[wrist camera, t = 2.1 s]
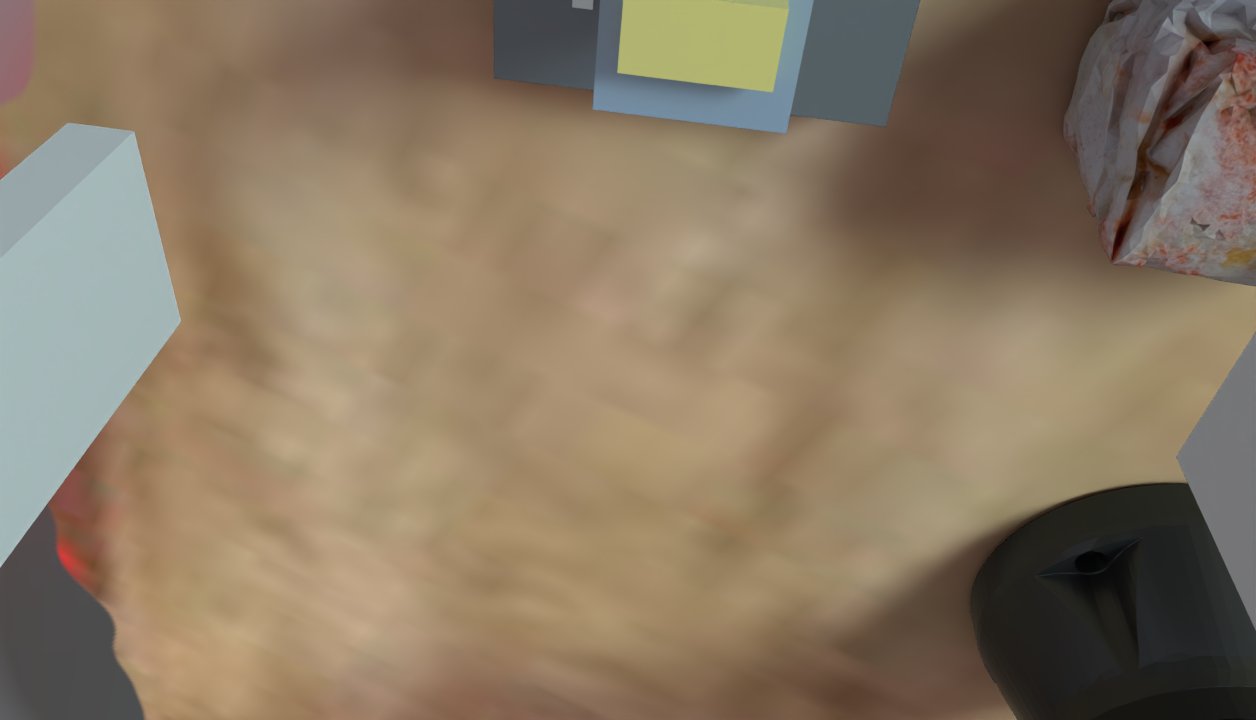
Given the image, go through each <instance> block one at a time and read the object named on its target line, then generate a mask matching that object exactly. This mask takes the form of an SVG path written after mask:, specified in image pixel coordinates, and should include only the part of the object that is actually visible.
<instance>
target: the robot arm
mask: <svg viewBox="0 0 1256 720" xmlns="http://www.w3.org/2000/svg"><path fill="white" fill-rule="evenodd" d="M180 322H181V319H180V315H179V311H178V307H177V303H176V299H175V295H174V291H173V287H172V283H171V279H170V275H169V271H168V267H167V263H166V259H165V255H164V251H163V246H162V242H161V238H160V234H159V230H158V226H157V222H156V218H155V214H154V210H153V206H152V202H151V198H150V194H149V190H148V186H147V182H146V178H145V174H144V170H143V166H142V162H141V158H140V154H139V150H138V146H137V142H136V138H135V133H134V131H127V130H120V129H112V128H105V127H97V126H90V125H82V124H75V123H67V124H66V125H65V126H64V127H62V128H61V129H60V130H59V131H58V132H56V133H55V134H54V135H53V136H52V137H51V138H49V139H48V140H47V141H46V142H45V143H43V144H42V145H41V146H40V147H39V148H38V149H36V150H35V151H34V152H33V153H32V154H30V155H29V156H28V157H27V158H26V159H25V160H23V161H22V162H21V163H20V164H19V165H17V166H16V167H15V168H14V169H13V170H12V171H10V172H9V173H8V174H7V175H6V176H4V177H3V178H2V179H1V180H0V567H1V566H2V564H3V563H4V562H5V560H6V559H7V558H8V556H9V555H10V553H11V552H12V551H13V549H14V548H15V546H16V545H17V544H18V543H19V541H20V540H21V538H22V537H23V536H24V534H25V533H26V532H27V530H28V529H29V528H30V526H31V525H32V524H33V522H34V521H35V519H36V518H37V517H38V515H39V514H40V513H41V511H42V510H43V509H44V507H45V506H46V505H47V503H48V502H49V500H50V499H51V498H52V496H53V495H54V494H55V492H56V491H57V490H58V488H59V487H60V485H61V484H62V483H63V481H64V480H65V479H66V477H67V476H68V475H69V473H70V472H71V471H72V469H73V468H74V466H75V465H76V464H77V462H78V461H79V460H80V458H81V457H82V456H83V454H84V453H85V451H86V450H87V449H88V447H89V446H90V445H91V443H92V442H93V441H94V439H95V438H96V437H97V435H98V434H99V432H100V431H101V430H102V428H103V427H104V426H105V424H106V423H107V422H108V420H109V419H110V418H111V416H112V415H113V413H114V412H115V411H116V409H117V408H118V407H119V405H120V404H121V403H122V401H123V400H124V398H125V397H126V396H127V394H128V393H129V392H130V390H131V389H132V388H133V386H134V385H135V384H136V382H137V381H138V379H139V378H140V377H141V375H142V374H143V373H144V371H145V370H146V369H147V367H148V366H149V364H150V363H151V362H152V360H153V359H154V358H155V356H156V355H157V354H158V352H159V351H160V350H161V348H162V347H163V345H164V344H165V343H166V341H167V340H168V339H169V337H170V336H171V335H172V333H173V332H174V330H175V329H176V328H177V326H178V325H179V324H180ZM1176 458H1177V460H1178V462H1179V464H1180V467H1181V469H1182V471H1183V473H1184V475H1185V477H1186V480H1187V482H1188V484H1163V485H1149V486H1140V487H1132V488H1126V489H1121V490H1115V491H1111V492H1106V493H1102V494H1098V495H1095V496H1091V497H1088V498H1085V499H1082V500H1079V501H1076V502H1073V503H1070V504H1068V505H1065V506H1063V507H1060V508H1058V509H1056V510H1053V511H1051V512H1049V513H1047V514H1045V515H1043V516H1041V517H1039V518H1037V519H1036V520H1034V521H1032V522H1031V523H1029V524H1027V525H1026V526H1024V527H1023V528H1021V529H1020V530H1018V531H1017V532H1016V533H1014V534H1013V535H1012V536H1010V537H1009V538H1008V539H1007V540H1006V541H1004V542H1003V543H1002V544H1001V545H1000V546H999V547H998V548H997V549H996V550H995V551H994V552H993V553H992V555H991V556H990V557H989V558H988V559H987V561H986V562H985V564H984V565H983V567H982V568H981V570H980V572H979V573H978V575H977V578H976V580H975V582H974V586H973V589H972V594H971V603H970V605H971V615H972V620H973V625H974V629H975V634H976V639H977V644H978V649H979V652H980V655H981V658H982V660H983V663H984V665H985V667H986V669H987V671H988V673H989V674H990V676H991V677H992V679H993V681H994V682H995V683H996V684H997V686H998V688H999V690H1000V691H1001V693H1002V695H1003V697H1004V698H1005V700H1006V702H1007V703H1008V705H1009V707H1010V708H1011V710H1012V712H1013V713H1014V715H1015V717H1016V718H1017V720H1256V332H1255V334H1254V335H1253V337H1252V338H1251V340H1250V341H1249V343H1248V345H1247V346H1246V348H1245V349H1244V351H1243V352H1242V354H1241V356H1240V357H1239V359H1238V360H1237V362H1236V363H1235V365H1234V367H1233V368H1232V370H1231V371H1230V373H1229V374H1228V376H1227V378H1226V379H1225V381H1224V382H1223V384H1222V385H1221V387H1220V389H1219V390H1218V392H1217V393H1216V395H1215V396H1214V398H1213V400H1212V401H1211V403H1210V404H1209V406H1208V407H1207V409H1206V411H1205V412H1204V414H1203V415H1202V417H1201V418H1200V420H1199V422H1198V423H1197V425H1196V426H1195V428H1194V429H1193V431H1192V433H1191V434H1190V436H1189V437H1188V439H1187V440H1186V442H1185V444H1184V445H1183V447H1182V448H1181V450H1180V451H1179V453H1178V455H1177V456H1176Z"/></svg>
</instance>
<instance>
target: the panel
mask: <svg viewBox="0 0 1256 720" xmlns="http://www.w3.org/2000/svg"><path fill="white" fill-rule="evenodd" d="M919 3H920V0H814V2H813V7H812V12H811V16H810V21H809V26H808V31H807V36H806V41H805V45H804V50H803V55H802V60H801V65H800V70H799V74H798V79H797V84H796V89H795V94H794V99H793V104H792V108H791V113H790V115H794V116H802V117H810V118H818V119H826V120H834V121H842V122H850V123H858V124H866V125H874V126H882V127H886V123H887V119H888V116H889V112H890V109H891V105H892V101H893V98H894V94H895V90H896V87H897V83H898V80H899V76H900V72H901V69H902V65H903V61H904V58H905V54H906V50H907V47H908V43H909V40H910V36H911V32H912V29H913V25H914V21H915V18H916V14H917V11H918V7H919ZM599 10H600V0H494V78H498V79H506V80H514V81H522V82H530V83H538V84H546V85H554V86H562V87H570V88H578V89H586V90H594V82H595V68H596V53H597V39H598V24H599Z"/></svg>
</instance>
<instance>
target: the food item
mask: <svg viewBox="0 0 1256 720" xmlns="http://www.w3.org/2000/svg"><path fill="white" fill-rule="evenodd" d="M1063 136H1064V138H1065V140H1066V141H1067V143H1068V145H1069V147H1070V148H1071V150H1072V151H1073V153H1074V155H1075V157H1076V160H1077V165H1078V168H1079V171H1080V175H1081V178H1082V181H1083V184H1084V187H1085V188H1086V190H1087V191H1088V194H1089V197H1090V201H1089V204H1088V207H1087V209H1088V211H1089V212H1090V213H1091V215H1092V216H1093V217H1094V216H1096V217H1097V220H1098V230H1099V236H1100V241H1101V244H1102V247H1103V249H1104V250H1105V252H1106V253H1107V255H1108V256H1109V258H1110V261H1111V264H1115V265H1125V266H1142V265H1144V266H1148V267H1153V268H1157V269H1161V270H1165V271H1169V272H1174V273H1180V274H1185V275H1196V276H1201V277H1205V278H1210V279H1215V280H1219V281H1225V282H1231V283H1238V284H1244V285H1250V286H1256V0H1112V2H1111V3H1110V4H1109V5H1108V9H1107V12H1106V15H1105V19H1104V21H1103V22H1102V24H1101V25H1100V26H1099V27H1098V29H1097V30H1096V31H1095V33H1094V34H1093V35H1092V37H1091V38H1090V39H1089V42H1088V44H1087V47H1086V49H1085V52H1084V54H1083V56H1082V59H1081V61H1080V65H1079V70H1078V75H1077V81H1076V84H1075V88H1074V92H1073V95H1072V99H1071V102H1070V104H1069V106H1068V108H1067V111H1066V113H1065V115H1064V125H1063Z"/></svg>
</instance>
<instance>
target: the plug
mask: <svg viewBox="0 0 1256 720" xmlns="http://www.w3.org/2000/svg"><path fill="white" fill-rule="evenodd" d="M813 2H814V0H600V10H599V24H598V39H597V53H596V68H595V82H594V97H593V110H601V111H609V112H617V113H625V114H633V115H641V116H649V117H657V118H665V119H673V120H681V121H689V122H697V123H705V124H713V125H721V126H729V127H737V128H745V129H753V130H761V131H769V132H777V133H785V134H786V133H787V128H788V123H789V118H790V113H791V108H792V104H793V99H794V94H795V89H796V84H797V79H798V74H799V70H800V65H801V60H802V55H803V50H804V45H805V41H806V36H807V31H808V26H809V21H810V16H811V12H812V7H813Z"/></svg>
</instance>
